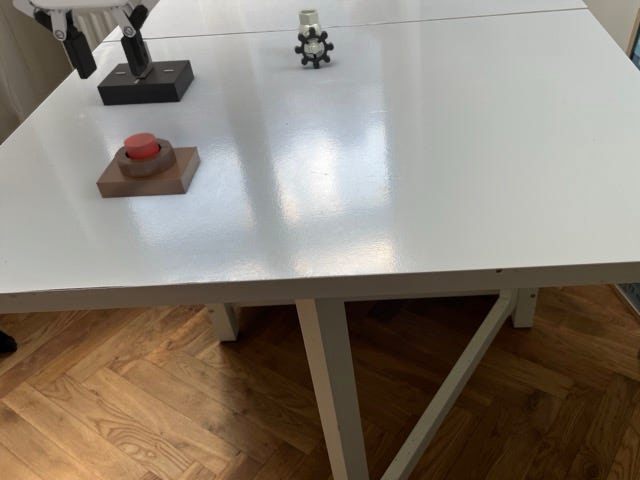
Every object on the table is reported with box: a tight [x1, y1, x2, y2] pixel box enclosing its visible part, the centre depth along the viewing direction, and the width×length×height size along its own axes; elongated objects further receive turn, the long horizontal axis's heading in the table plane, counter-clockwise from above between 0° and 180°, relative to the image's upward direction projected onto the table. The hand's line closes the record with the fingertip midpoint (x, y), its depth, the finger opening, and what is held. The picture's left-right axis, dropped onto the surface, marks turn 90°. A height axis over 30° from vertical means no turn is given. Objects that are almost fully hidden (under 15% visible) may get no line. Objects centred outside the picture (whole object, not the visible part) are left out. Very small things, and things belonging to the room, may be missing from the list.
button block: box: [95, 137, 202, 199], centre depth 68 cm, size 10×8×4 cm
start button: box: [123, 132, 159, 159], centre depth 66 cm, size 4×4×2 cm
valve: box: [294, 8, 335, 70], centre depth 97 cm, size 7×7×12 cm
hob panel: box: [96, 59, 195, 106], centre depth 90 cm, size 12×10×3 cm
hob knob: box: [135, 40, 154, 78], centre depth 87 cm, size 5×2×4 cm, turn 2°
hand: (114, 71), depth 60 cm, fingers open, 5 cm apart
